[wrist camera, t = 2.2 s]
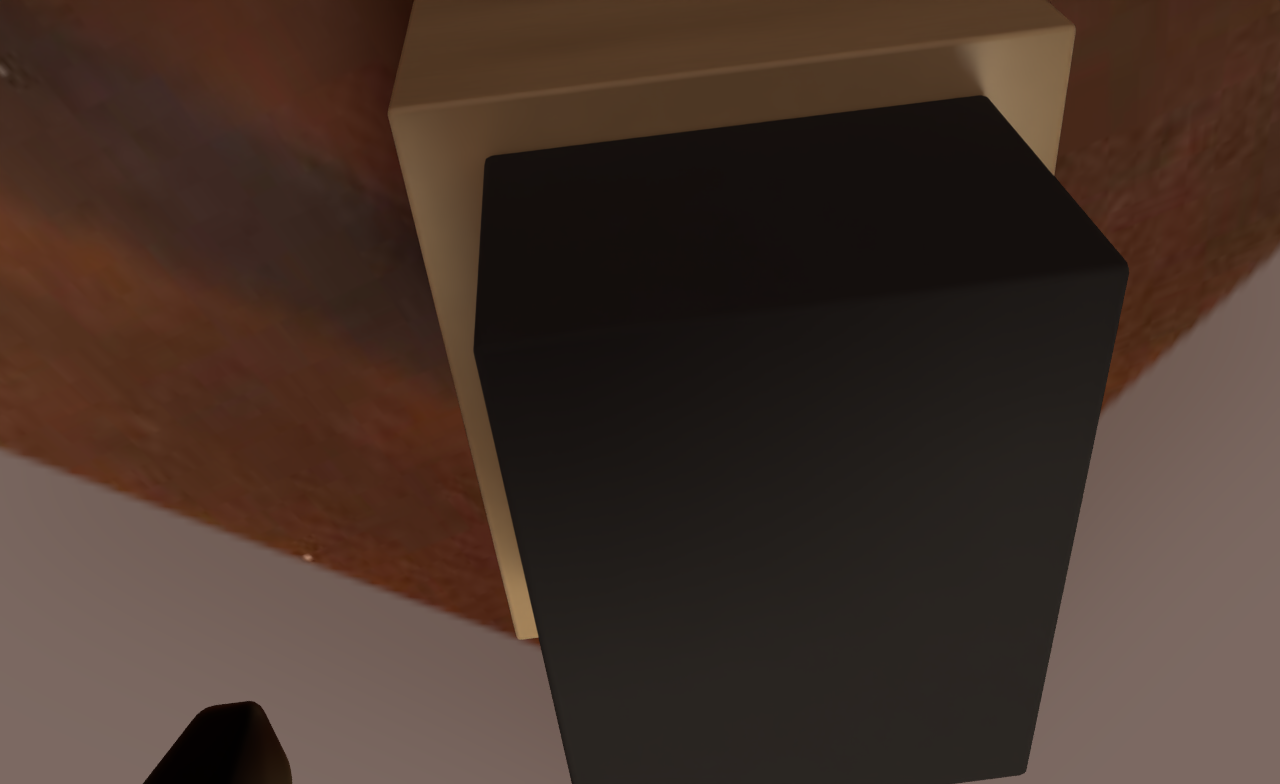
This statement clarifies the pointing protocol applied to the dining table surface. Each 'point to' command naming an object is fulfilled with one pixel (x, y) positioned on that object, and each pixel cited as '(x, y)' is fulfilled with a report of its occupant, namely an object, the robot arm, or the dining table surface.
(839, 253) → the black rectangular block
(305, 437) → the dining table surface
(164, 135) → the dining table surface
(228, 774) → the robot arm
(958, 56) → the stand
